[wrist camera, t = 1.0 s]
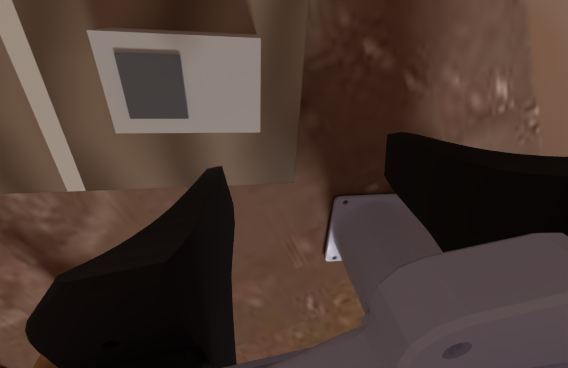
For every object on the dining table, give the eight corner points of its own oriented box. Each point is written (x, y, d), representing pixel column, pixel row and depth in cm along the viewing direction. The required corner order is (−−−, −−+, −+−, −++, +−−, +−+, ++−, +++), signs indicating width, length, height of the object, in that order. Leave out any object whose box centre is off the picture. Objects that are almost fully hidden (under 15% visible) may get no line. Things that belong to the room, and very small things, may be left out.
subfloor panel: (311, -80, 15) (315, -86, 14) (291, 177, 23) (294, 183, 22) (-204, -140, 11) (-239, -152, 11) (-9, 186, 20) (-20, 194, 19)
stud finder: (256, 34, 16) (261, 38, 14) (256, 116, 19) (260, 133, 16) (111, 27, 15) (84, 30, 12) (132, 116, 18) (114, 134, 15)
